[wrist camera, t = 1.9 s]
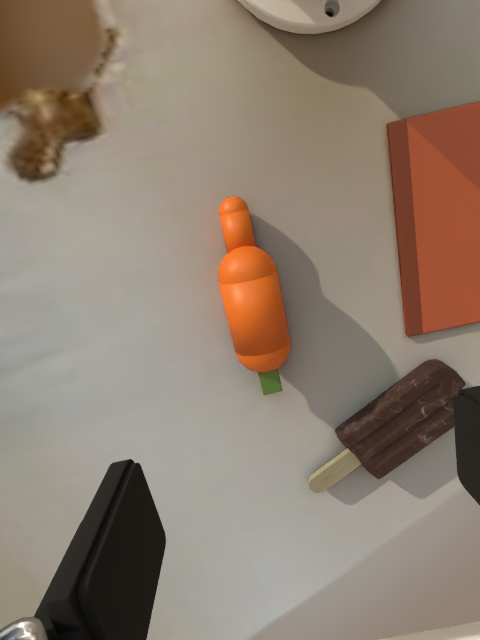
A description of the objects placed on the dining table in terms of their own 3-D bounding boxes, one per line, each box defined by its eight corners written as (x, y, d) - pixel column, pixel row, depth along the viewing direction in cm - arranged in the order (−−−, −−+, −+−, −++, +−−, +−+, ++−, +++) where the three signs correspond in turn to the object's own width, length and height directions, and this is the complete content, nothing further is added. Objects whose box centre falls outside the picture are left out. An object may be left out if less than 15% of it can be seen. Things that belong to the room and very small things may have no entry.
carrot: (202, 204, 24) (196, 201, 20) (259, 191, 24) (264, 186, 20) (244, 382, 28) (246, 408, 24) (293, 372, 28) (303, 396, 24)
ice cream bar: (327, 499, 31) (471, 395, 29) (332, 514, 30) (484, 406, 27) (289, 462, 30) (435, 351, 28) (292, 475, 29) (447, 359, 26)
